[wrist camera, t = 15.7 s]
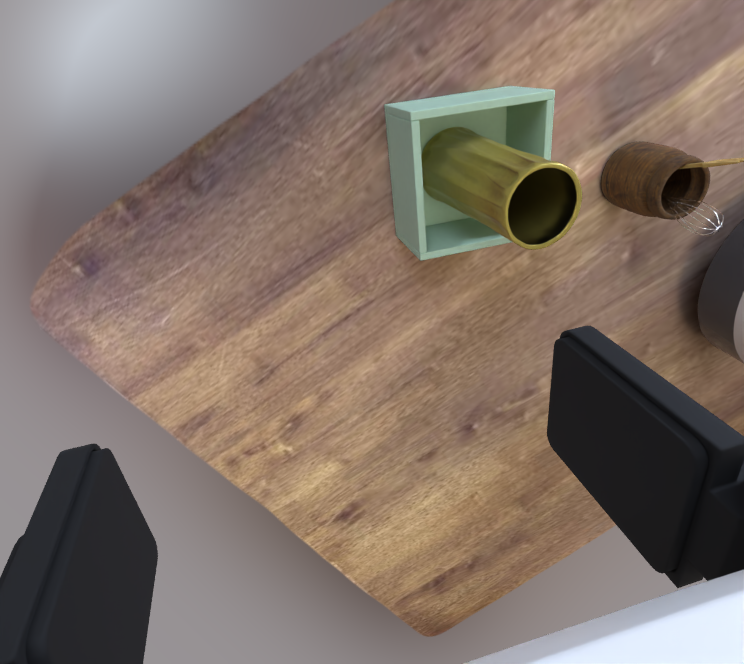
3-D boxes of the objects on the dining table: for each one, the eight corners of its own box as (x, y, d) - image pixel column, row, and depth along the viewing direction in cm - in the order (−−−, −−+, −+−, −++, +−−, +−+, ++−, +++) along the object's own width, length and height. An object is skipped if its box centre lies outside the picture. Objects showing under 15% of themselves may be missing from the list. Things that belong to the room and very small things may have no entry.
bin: (384, 104, 39) (410, 111, 34) (510, 85, 41) (555, 89, 35) (395, 235, 45) (420, 261, 39) (507, 214, 46) (546, 235, 41)
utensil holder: (596, 211, 48) (694, 252, 38) (601, 143, 45) (710, 167, 35) (650, 198, 49) (760, 234, 39) (658, 130, 46) (782, 150, 36)
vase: (434, 215, 44) (514, 274, 32) (406, 150, 41) (483, 188, 28) (495, 179, 44) (599, 225, 32) (471, 111, 41) (577, 133, 28)
